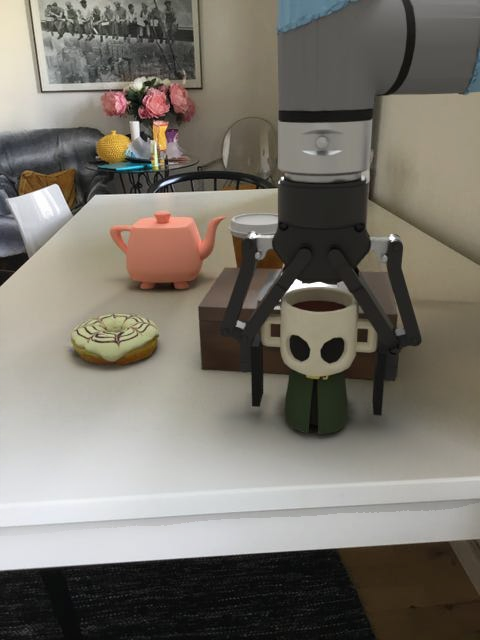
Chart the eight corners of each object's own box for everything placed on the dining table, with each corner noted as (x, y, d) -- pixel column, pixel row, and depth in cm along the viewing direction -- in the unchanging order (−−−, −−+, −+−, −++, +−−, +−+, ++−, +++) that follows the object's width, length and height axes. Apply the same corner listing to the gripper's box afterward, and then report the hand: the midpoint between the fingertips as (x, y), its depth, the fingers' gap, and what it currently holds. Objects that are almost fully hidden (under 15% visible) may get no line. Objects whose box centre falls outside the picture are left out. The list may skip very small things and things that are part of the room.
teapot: (105, 292, 93) (96, 220, 89) (124, 270, 104) (117, 205, 100) (226, 292, 92) (223, 219, 87) (232, 270, 103) (230, 204, 98)
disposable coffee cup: (246, 279, 98) (244, 210, 93) (298, 286, 94) (299, 214, 89) (220, 297, 90) (217, 222, 85) (275, 305, 86) (275, 227, 81)
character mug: (255, 436, 54) (253, 309, 49) (267, 398, 60) (266, 283, 56) (372, 447, 52) (382, 316, 47) (371, 407, 58) (380, 288, 53)
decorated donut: (118, 378, 66) (114, 348, 64) (56, 357, 71) (52, 329, 70) (175, 344, 74) (173, 318, 72) (116, 328, 79) (113, 303, 78)
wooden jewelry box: (384, 327, 77) (389, 270, 74) (392, 380, 63) (398, 312, 60) (226, 320, 81) (224, 265, 78) (201, 369, 67) (197, 304, 64)
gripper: (175, 181, 46) (191, 415, 54) (480, 182, 42) (446, 434, 50) (197, 168, 52) (208, 378, 61) (462, 168, 48) (435, 392, 57)
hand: (316, 403), depth 55 cm, fingers closed on character mug, 11 cm apart
